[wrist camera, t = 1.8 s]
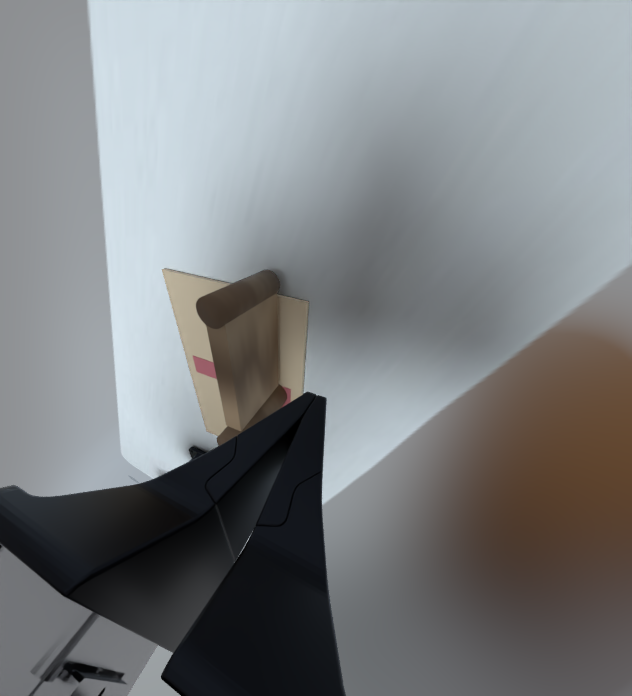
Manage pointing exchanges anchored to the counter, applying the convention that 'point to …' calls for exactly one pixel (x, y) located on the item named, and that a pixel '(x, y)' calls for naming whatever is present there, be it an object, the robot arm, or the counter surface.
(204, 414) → the card
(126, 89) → the counter surface
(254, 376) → the fence gate
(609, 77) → the counter surface
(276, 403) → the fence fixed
